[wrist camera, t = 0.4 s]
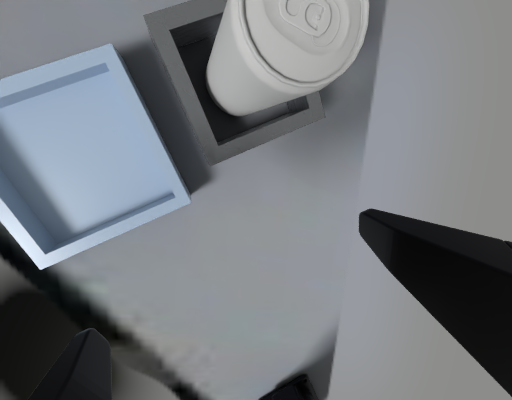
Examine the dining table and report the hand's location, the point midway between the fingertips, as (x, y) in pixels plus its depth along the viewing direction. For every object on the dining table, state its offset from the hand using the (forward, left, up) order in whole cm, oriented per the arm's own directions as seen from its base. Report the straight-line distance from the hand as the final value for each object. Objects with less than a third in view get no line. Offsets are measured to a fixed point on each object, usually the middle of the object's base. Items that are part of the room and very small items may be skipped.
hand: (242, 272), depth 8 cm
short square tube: (+7, -5, -13) cm, 16 cm away
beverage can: (+7, -5, -14) cm, 16 cm away
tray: (+5, +7, -13) cm, 16 cm away
